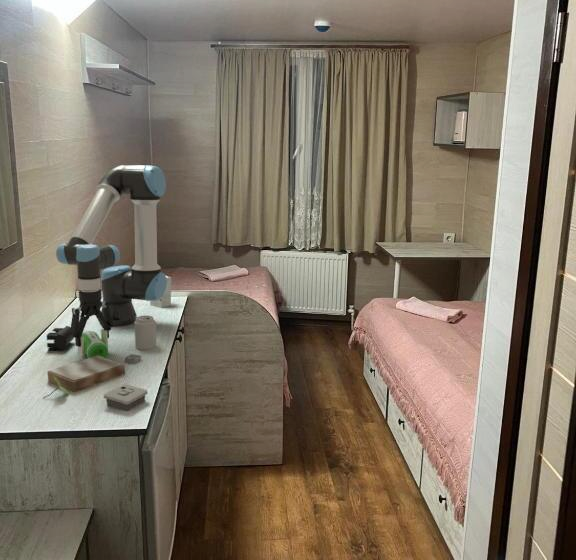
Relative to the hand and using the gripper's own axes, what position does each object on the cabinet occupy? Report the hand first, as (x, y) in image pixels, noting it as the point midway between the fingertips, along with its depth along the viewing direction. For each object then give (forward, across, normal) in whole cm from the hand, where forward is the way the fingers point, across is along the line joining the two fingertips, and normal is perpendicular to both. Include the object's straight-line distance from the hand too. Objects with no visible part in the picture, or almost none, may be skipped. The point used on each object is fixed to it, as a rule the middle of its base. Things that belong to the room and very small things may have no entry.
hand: (93, 350), depth 221 cm
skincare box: (+2, -58, -30) cm, 65 cm away
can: (+2, -17, +8) cm, 19 cm away
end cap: (+2, +2, -17) cm, 17 cm away
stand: (+2, +14, +16) cm, 21 cm away
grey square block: (+2, -4, +16) cm, 17 cm away
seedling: (+2, +32, +20) cm, 38 cm away
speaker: (+2, 0, 0) cm, 2 cm away
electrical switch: (+2, +20, +38) cm, 43 cm away
